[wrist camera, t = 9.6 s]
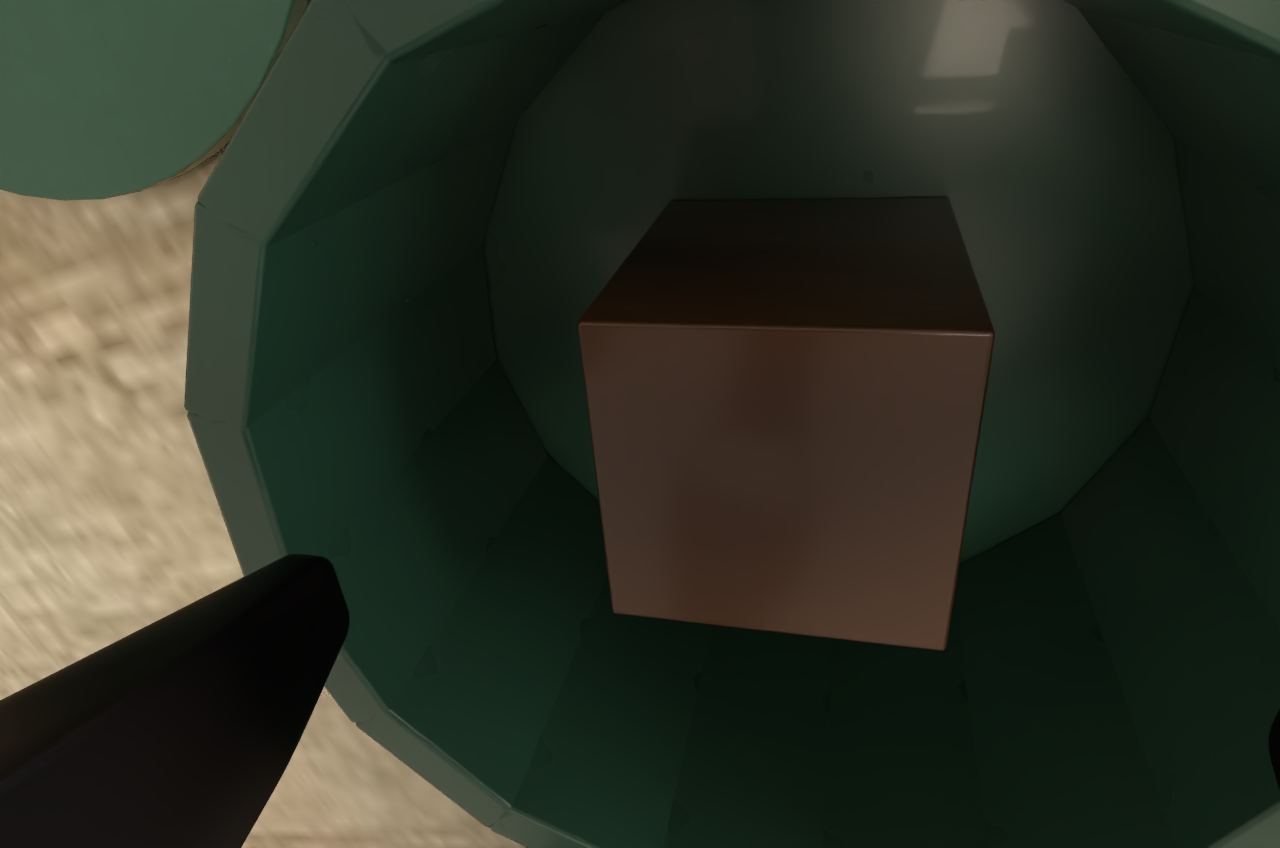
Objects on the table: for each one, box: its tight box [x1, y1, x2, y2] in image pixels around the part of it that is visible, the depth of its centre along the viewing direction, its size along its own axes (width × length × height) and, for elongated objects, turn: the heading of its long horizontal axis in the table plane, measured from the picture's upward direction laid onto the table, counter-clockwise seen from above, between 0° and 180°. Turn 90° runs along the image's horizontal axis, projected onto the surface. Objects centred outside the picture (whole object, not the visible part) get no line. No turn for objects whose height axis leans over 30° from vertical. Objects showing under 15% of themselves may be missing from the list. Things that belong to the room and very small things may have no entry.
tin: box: [184, 0, 1280, 848], centre depth 12 cm, size 14×14×8 cm
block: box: [577, 197, 995, 651], centre depth 12 cm, size 5×5×5 cm
